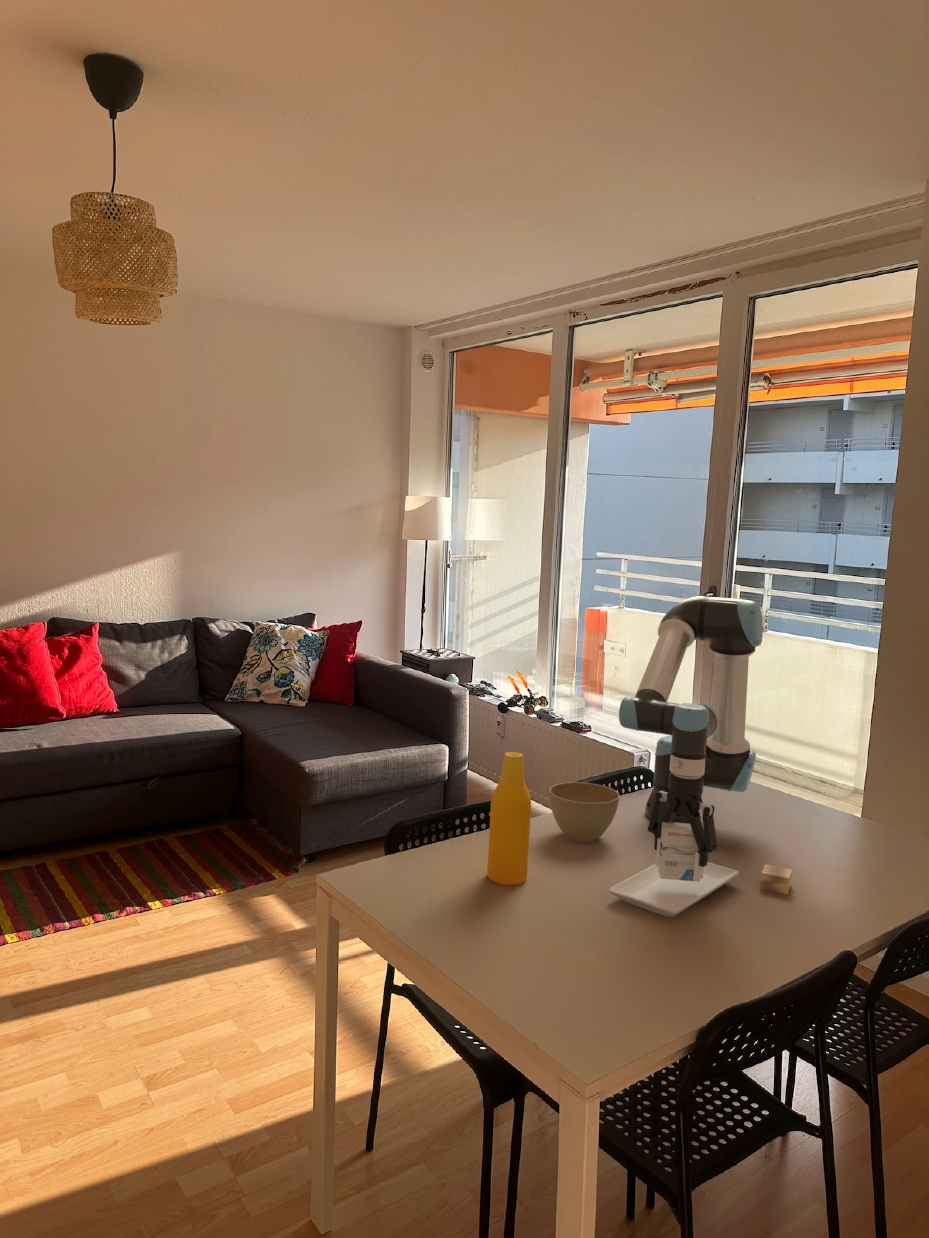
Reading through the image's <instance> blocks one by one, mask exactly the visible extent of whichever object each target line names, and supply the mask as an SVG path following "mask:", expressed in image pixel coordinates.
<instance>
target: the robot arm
mask: <svg viewBox="0 0 929 1238" xmlns="http://www.w3.org/2000/svg"><path fill="white" fill-rule="evenodd" d="M763 631H764V624H763V615H762V610H761V606H760V605H759V603H758V602H756V601H754V600H749V599H748V600H747V599H744V598H733V597H732V598H730V597H715V596H704V595H700V596H699V595H697V596H692V597H689V598H686V599H684V600H682V601H680V602H679V603H677V604H676V605H674V606H673V607H672V608H670V609H669V610H668V612H666V613H665V615H664V616H663V617H662V619H661V620H660V623H659V626H658V628H657V637H658V638H657V642H655V643H656V644H655V646H654V648H653V651H652V654H651V657H650V659H649V661H648V663H647V666H646V668H645V671H644V674H643V675H642V678H641V681H640V684H639V685H638V689H637V690H636V693H635V695H634V696H625V697H624V698H622V700H621V702H620V704H619V705H620V706H619V710H618V722H619V724H620V726H621V727H623V728H624V729H630V730H633V731H637V732H638V731H639V732H647V733H653V734H654V733H655V734H661V735H665V736H662V737H661V738H659V739H658V740H657V742H656V748H655V753H654V756H655V757H654V772H653V785H652V786H653V788H652V790H651V791H650V795H649V797H648V799H647V801H646V804H645V809H644V810H645V811H644V815H645V816H646V817H647V818H648V819H649V823H648V826H647V831H648V832H649V833H652V834H653V836H654V845H653V846H654V847H653V848H654V851H656V856H655V863H656V866H657V867H659V856H660V844H661V831H662V822H665V823H668V822H675V823H687V824H690V825H691V828H692V831H693V834H694V837H695V840H696V843H697V846H698V849H699V850H698V851H696V852H695V864H694V877H693V880H694V881H698V880H700V879H702V878H703V872H704V866H706V865H707V863H708V862H709V861H708V859H709V854H710V853H712V852H715V851H717V850H718V842H717V835H716V834H717V833H716V828H715V820H714V819H715V817H714V813H715V806H714V805H713V804H710V805H709V804H706V803H704V802H703V799H702V798H703V797H702V796H703V793H704V788H711V789H717V790H721V791H727V792H728V793H731V792H736V793H737V792H738V793H743V792H746V791H747V789H748V788H749V784H750V782H751V779H752V775H753V771H754V766H755V763H756V758H757V757H756V756H757V755H756V753H757V752H756V751H754V750H751V743H750V742H749V740H748V739H746V737H745V736H746V733H745V732H746V720H747V719H746V717H747V714H746V713H747V696H748V679H749V678H748V677H749V676H748V675H749V658H750V656H751V655H753V654H754V653H756V648H757V647H760V646H761V645H762V643H763V638H764V637H763ZM696 640H697V641H698V640H699V641H705V642H708V643H709V646H708V648H709V650H710V651H711V653H712V654H714V668H713V669H714V671H713V674H714V675H713V695H712V696H713V697H712V699H713V700H712V706H711V705H709V704H706V703H689V702H688V703H687V702H686V703H685V702H684V703H676V702H669V701H668V700H669V697H670V695H671V692H672V690H673V687H674V684H675V682H676V680H677V679H676V678H677V675H678V673H679V670H680V667H681V665H682V662H683V660H684V657H685V654H686V652H687V649H688V648H689V647H690V646H691V645H693V644H694V642H695V641H696ZM700 810H701V812H700ZM701 814H702V817H701ZM701 818H702V820H701Z"/></svg>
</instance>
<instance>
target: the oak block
mask: <svg viewBox="0 0 929 1238" xmlns="http://www.w3.org/2000/svg"><path fill="white" fill-rule="evenodd" d="M792 876H793V869H790V868H786V867H780V866H777V865H771V864H766V863H765V864H764V866H763V868H762V871H761V874H760V890H765V891H771V892H773V893H774V892H775V893H780V894H784V895H788V894H789V891H790V888H791V885H792Z"/></svg>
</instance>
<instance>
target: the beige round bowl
mask: <svg viewBox="0 0 929 1238" xmlns="http://www.w3.org/2000/svg"><path fill="white" fill-rule="evenodd" d="M549 802H550V808H551V812H552V814H553V819H554V820H555V822H556V824H557V825H558V828H559V829H560V830H561V832H562V833H563V834H564V836H565V838H567V839H568V840H571V841H574V842H578V843H579V842H580V843H593V842H595V841H597V840H598V839H599V838H600V837H602V835H603V834H604V833H605V832H606V830H608V828H609V827H610V825H611V824H612V822H613V820H614V817H615V816H616V813H617V809H618V806H619V802H620V793H619V792H618V791H617V790H615V789H613V788H611V787H608V786H605V785H601V784H597V783H589V782H579V781H578V782H577V781H576V782H574V781H571V782H561V783H557V784H554V785H552V786H551V787H550V788H549Z"/></svg>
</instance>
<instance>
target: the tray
mask: <svg viewBox="0 0 929 1238" xmlns="http://www.w3.org/2000/svg"><path fill="white" fill-rule="evenodd" d="M739 874H740V871H739V870H736V869H732V868H730V867H725V866H723V865H719V864H715V863H713V862H709V861H708V863H707V865H706V866H704V872H703V878H702V879H700V880H699V881H684V880H671V879H661V878H660V874H659V867H657V866H656V862H655V863H653V864H652V865H650V866H648V867H647V868H645V869H642V870H641V871H639V872H637V873H634V874H633V875H631V876H629V877H628V878H625V879H623V880H622V881H619V882H618V883H616V884H614V885H612V886H610V887H609V888H608V891H609V893H611V894H612V895H614V896H615V897H617V898H619V899H621V900H623V901H625V902H626V903H627V904H629V905H632V906H636V907H638V908H641V909H644V910H647V911H650V912H653V913H656V914H658V915H661V916H663V917H666V918H673V917H674V916H676V915H679V914H681V913H682V912H684V911H686V910H687V909H688V908H690V907H691V906H693V905H695V904H696V903H698V902H699V901H701V900H702V899H704V898H706V897H707V896H709V895H710V894H712V893H713V892H715V891H716V890H718V889H719V888H721V887H722V886H723V885H726V884H727V883H729V882H730V881H731V880H733V879H734V878H736V877H737V876H738V875H739Z"/></svg>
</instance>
